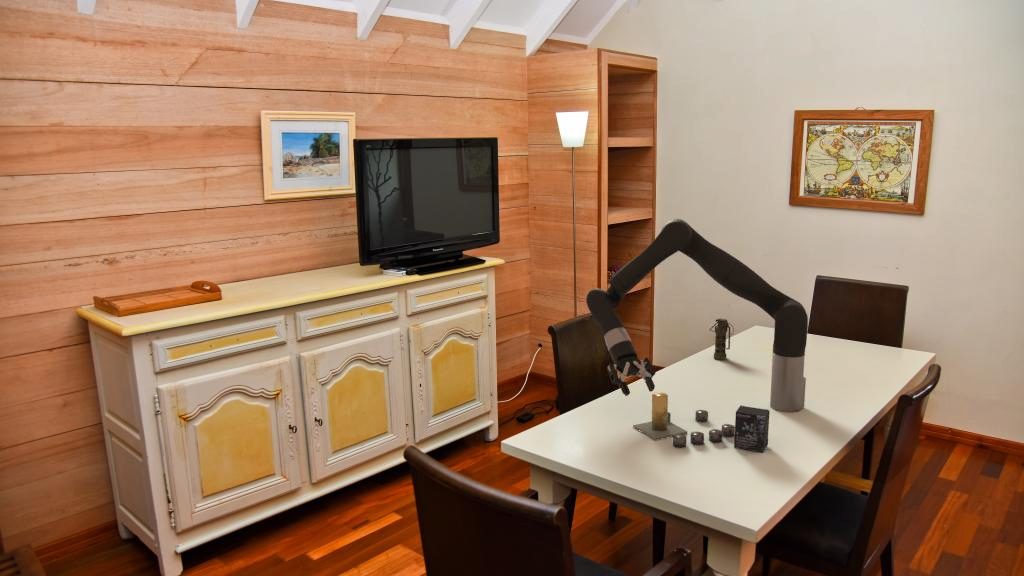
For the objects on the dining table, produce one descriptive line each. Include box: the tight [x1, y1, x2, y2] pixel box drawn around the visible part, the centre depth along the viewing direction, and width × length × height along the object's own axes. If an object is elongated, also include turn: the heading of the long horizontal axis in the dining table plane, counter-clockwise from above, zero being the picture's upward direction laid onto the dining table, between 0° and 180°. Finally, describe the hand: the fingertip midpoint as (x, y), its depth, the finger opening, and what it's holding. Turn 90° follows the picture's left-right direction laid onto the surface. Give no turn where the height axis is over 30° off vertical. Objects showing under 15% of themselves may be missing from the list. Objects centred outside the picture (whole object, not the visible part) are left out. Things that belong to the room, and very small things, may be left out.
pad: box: [632, 420, 688, 441], centre depth 224 cm, size 11×11×1 cm
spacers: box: [667, 409, 735, 449], centre depth 223 cm, size 21×22×2 cm
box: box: [733, 405, 771, 454], centre depth 210 cm, size 8×6×11 cm
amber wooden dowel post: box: [651, 392, 669, 431], centre depth 223 cm, size 4×4×10 cm
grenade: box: [709, 318, 735, 361], centre depth 288 cm, size 9×6×15 cm, turn 50°
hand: (640, 392), depth 231 cm, fingers open, 8 cm apart
